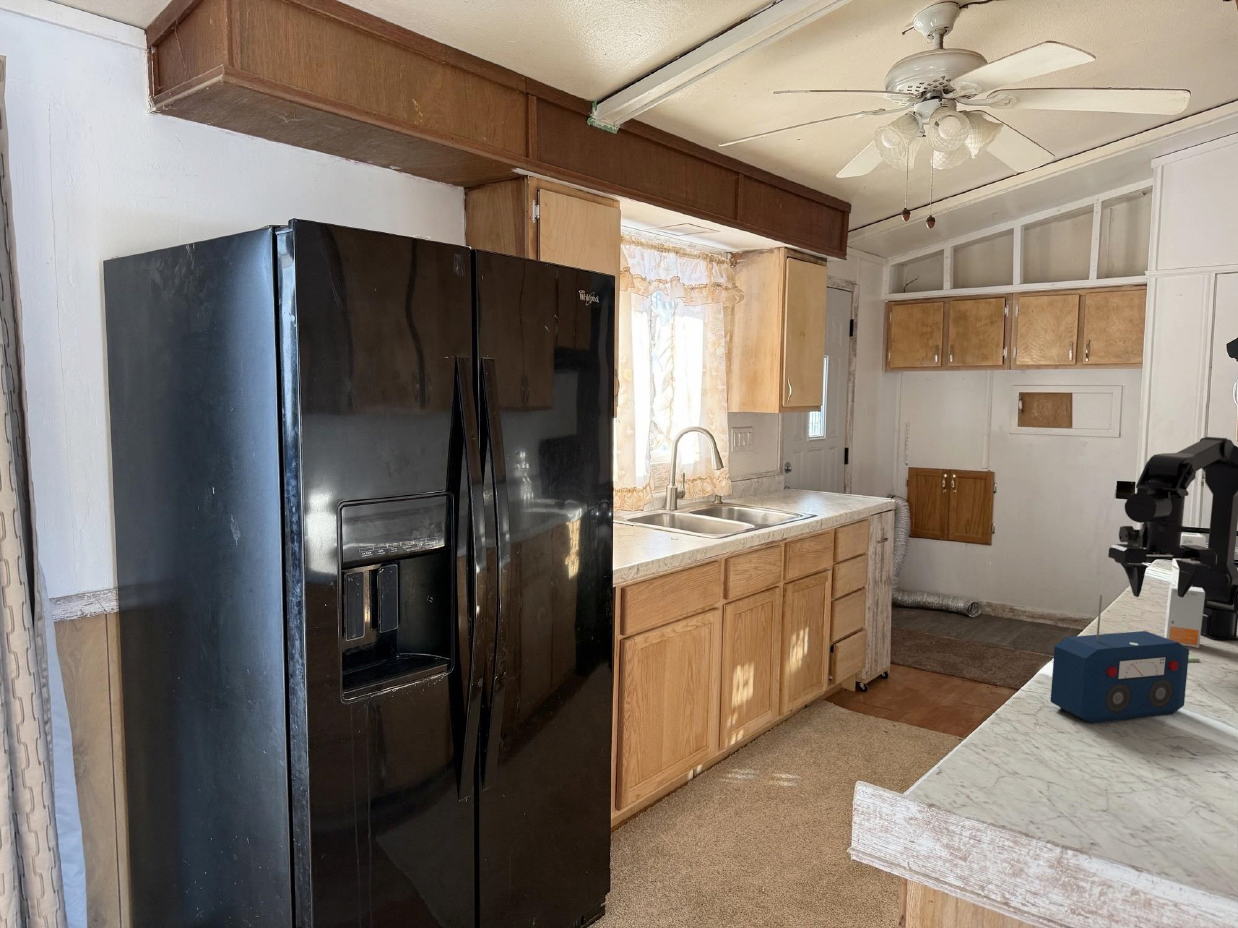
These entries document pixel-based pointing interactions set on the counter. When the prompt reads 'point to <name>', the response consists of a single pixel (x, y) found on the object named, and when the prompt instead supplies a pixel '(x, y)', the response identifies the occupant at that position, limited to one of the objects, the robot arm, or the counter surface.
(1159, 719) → the counter surface
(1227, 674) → the counter surface
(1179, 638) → the skincare box
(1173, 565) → the syrup box
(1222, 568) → the robot arm
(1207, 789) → the counter surface
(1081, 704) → the radio
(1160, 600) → the counter surface
